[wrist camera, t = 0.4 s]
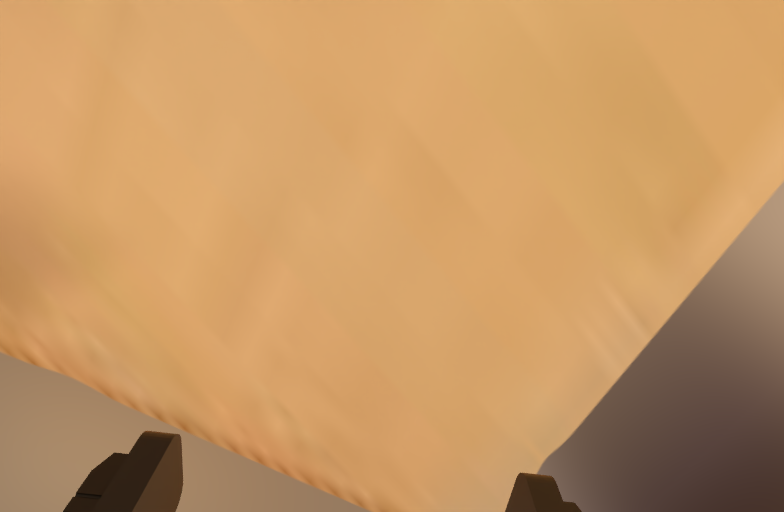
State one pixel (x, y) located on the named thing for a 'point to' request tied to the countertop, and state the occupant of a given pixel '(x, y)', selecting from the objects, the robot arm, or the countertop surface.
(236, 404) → the countertop surface
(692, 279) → the countertop surface
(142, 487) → the robot arm
